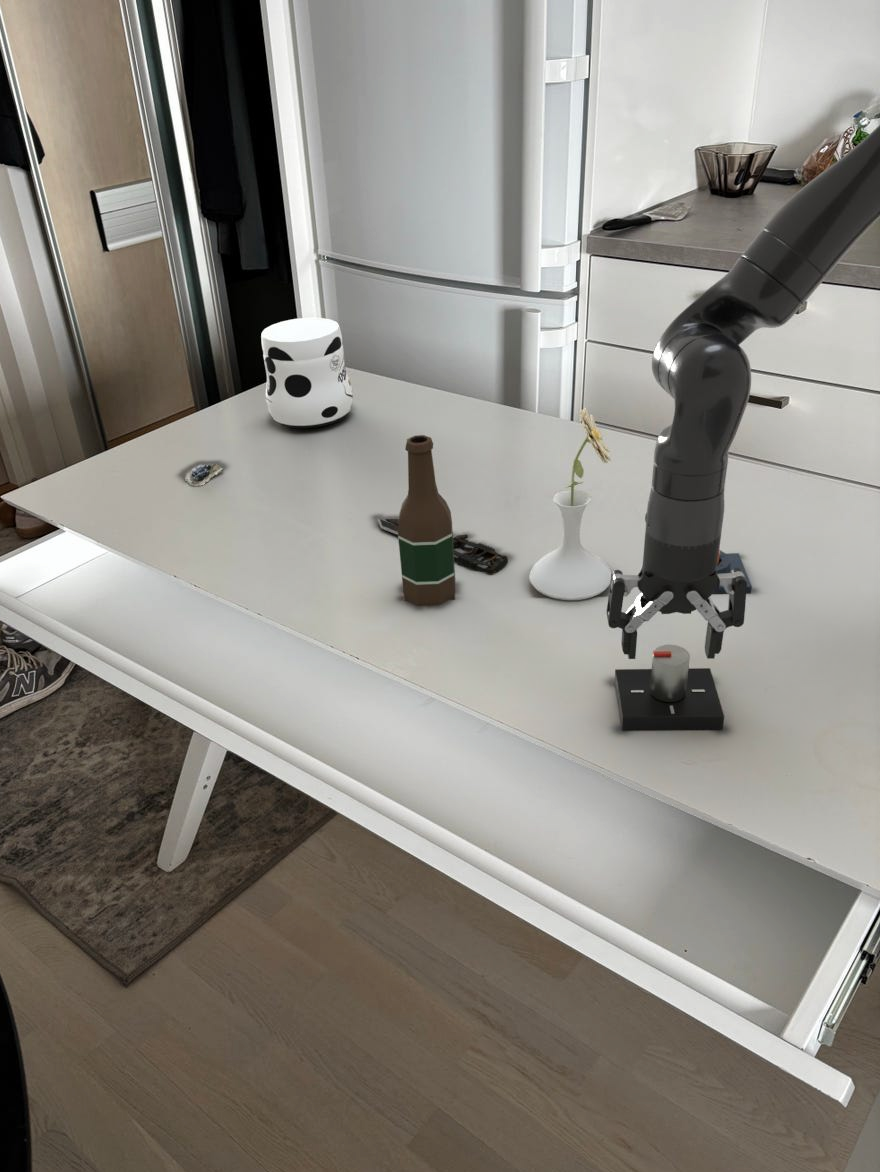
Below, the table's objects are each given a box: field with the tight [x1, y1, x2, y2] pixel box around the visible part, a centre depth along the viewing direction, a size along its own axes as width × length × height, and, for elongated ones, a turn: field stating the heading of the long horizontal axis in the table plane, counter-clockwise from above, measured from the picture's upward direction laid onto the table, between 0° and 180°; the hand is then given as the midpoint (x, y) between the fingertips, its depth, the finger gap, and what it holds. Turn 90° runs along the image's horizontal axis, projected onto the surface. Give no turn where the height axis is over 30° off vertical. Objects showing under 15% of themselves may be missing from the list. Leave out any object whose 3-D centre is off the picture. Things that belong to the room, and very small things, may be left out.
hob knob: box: [650, 644, 691, 702], centre depth 111 cm, size 4×4×6 cm
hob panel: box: [614, 667, 725, 732], centre depth 113 cm, size 11×9×3 cm
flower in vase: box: [529, 407, 612, 601], centre depth 131 cm, size 13×11×25 cm
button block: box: [712, 549, 753, 595], centre depth 135 cm, size 11×9×4 cm
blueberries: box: [184, 463, 224, 487], centre depth 178 cm, size 7×8×2 cm
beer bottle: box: [397, 434, 456, 607], centre depth 132 cm, size 8×8×24 cm
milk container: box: [260, 317, 354, 429], centre depth 193 cm, size 17×17×18 cm
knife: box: [377, 518, 509, 574], centre depth 151 cm, size 25×6×1 cm, turn 41°
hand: (670, 654), depth 109 cm, fingers open, 8 cm apart
